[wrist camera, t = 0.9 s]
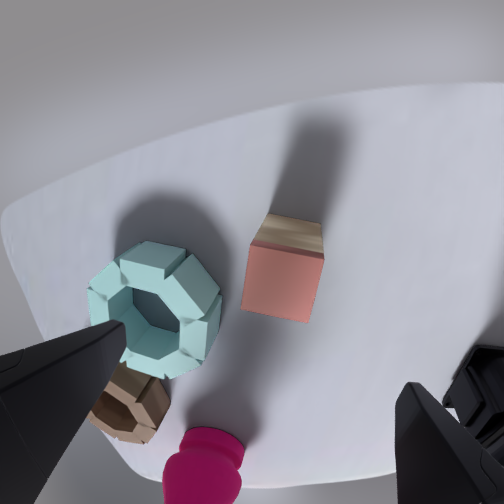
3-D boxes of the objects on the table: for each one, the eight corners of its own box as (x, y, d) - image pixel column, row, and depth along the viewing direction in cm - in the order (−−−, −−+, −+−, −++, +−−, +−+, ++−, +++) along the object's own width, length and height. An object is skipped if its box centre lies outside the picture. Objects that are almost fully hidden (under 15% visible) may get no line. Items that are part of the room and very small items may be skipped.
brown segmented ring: (145, 350, 25) (126, 376, 22) (181, 421, 28) (169, 447, 24) (76, 351, 27) (56, 372, 24) (113, 414, 30) (99, 436, 26)
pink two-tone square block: (320, 223, 19) (324, 259, 14) (309, 272, 20) (308, 322, 15) (267, 213, 19) (250, 245, 14) (259, 262, 21) (240, 309, 15)
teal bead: (227, 257, 21) (211, 280, 18) (215, 360, 24) (202, 390, 21) (112, 233, 22) (83, 249, 19) (117, 331, 25) (95, 355, 22)
